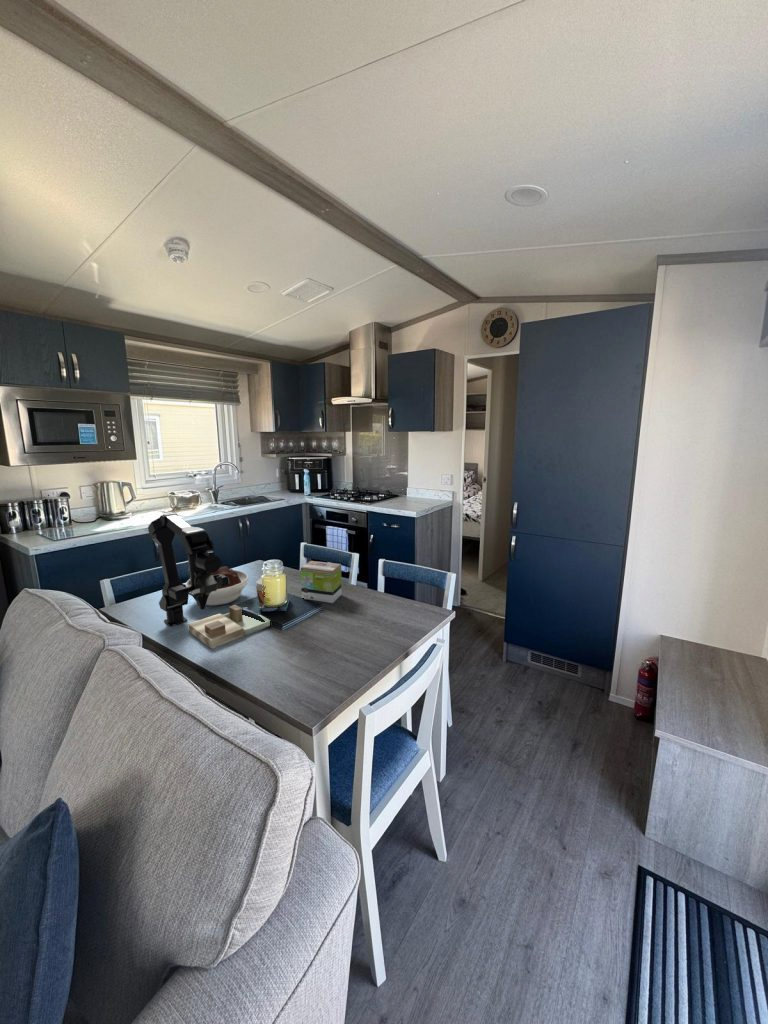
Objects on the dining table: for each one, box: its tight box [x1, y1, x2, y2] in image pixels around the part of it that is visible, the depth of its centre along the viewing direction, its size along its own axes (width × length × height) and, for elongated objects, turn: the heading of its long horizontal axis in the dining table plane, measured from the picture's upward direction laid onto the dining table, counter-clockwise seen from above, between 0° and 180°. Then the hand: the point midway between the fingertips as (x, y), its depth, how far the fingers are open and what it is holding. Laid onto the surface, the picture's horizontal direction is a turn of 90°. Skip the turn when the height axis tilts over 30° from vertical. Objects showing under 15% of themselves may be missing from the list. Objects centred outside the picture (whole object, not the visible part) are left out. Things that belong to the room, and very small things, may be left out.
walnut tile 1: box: [228, 604, 243, 623], centre depth 164 cm, size 5×5×2 cm
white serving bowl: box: [185, 566, 249, 606], centre depth 182 cm, size 25×25×15 cm
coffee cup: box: [255, 577, 266, 607], centre depth 174 cm, size 9×9×12 cm
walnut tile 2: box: [205, 620, 226, 636], centre depth 149 cm, size 5×5×2 cm
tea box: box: [300, 560, 342, 604], centre depth 185 cm, size 15×10×15 cm
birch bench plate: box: [187, 613, 245, 649], centre depth 154 cm, size 18×12×3 cm, turn 47°
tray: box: [222, 606, 272, 637], centre depth 162 cm, size 18×11×2 cm, turn 47°
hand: (202, 609), depth 148 cm, fingers closed
